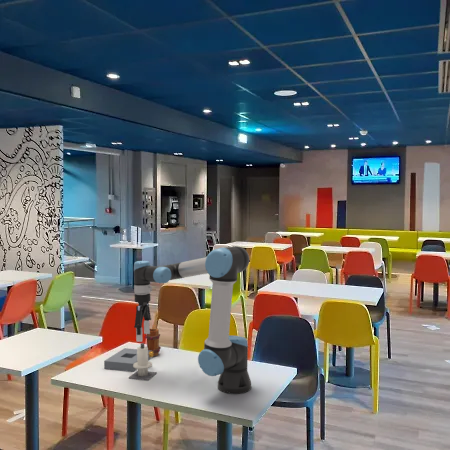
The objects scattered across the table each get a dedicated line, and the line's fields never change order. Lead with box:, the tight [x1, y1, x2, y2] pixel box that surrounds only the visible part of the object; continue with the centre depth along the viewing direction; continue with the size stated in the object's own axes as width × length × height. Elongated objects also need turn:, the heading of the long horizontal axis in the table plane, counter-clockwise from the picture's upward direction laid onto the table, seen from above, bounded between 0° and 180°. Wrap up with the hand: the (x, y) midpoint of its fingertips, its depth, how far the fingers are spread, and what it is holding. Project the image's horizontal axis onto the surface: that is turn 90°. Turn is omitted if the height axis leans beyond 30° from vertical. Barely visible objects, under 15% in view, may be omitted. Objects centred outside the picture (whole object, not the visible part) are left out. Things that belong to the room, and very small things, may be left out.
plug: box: [133, 342, 153, 377], centre depth 229 cm, size 9×9×15 cm
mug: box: [144, 324, 162, 357], centre depth 263 cm, size 15×8×15 cm, turn 179°
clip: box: [148, 351, 154, 360], centre depth 245 cm, size 18×3×3 cm, turn 29°
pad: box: [128, 370, 157, 381], centre depth 229 cm, size 10×10×1 cm
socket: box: [103, 347, 151, 373], centre depth 247 cm, size 22×16×5 cm
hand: (143, 337), depth 228 cm, fingers open, 13 cm apart
